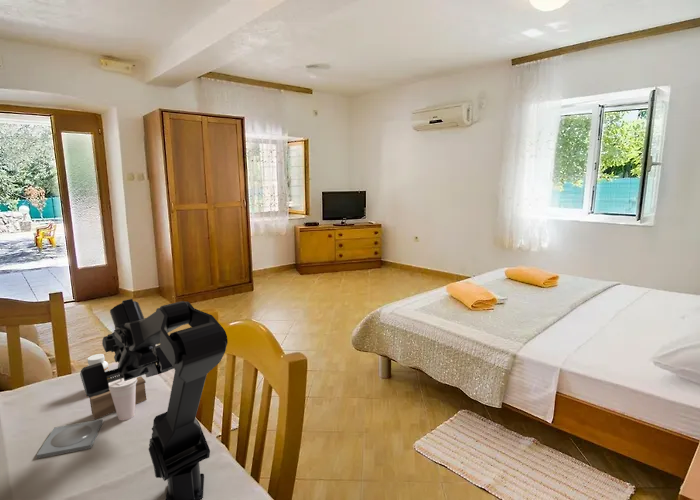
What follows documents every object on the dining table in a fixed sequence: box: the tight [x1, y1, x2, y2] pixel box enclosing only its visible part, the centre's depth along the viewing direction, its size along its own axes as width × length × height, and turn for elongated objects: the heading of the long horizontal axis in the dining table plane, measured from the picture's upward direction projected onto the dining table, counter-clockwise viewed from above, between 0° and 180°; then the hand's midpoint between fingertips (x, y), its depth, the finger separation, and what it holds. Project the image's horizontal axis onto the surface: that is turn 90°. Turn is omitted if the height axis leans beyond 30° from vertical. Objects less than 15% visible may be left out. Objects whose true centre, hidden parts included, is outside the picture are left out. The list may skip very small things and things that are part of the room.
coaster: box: [36, 418, 104, 459], centre depth 91 cm, size 10×10×1 cm
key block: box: [88, 375, 147, 420], centre depth 103 cm, size 3×12×6 cm, turn 135°
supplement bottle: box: [87, 353, 110, 379], centre depth 112 cm, size 5×5×10 cm
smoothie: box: [108, 377, 138, 421], centre depth 98 cm, size 6×6×14 cm
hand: (126, 382), depth 95 cm, fingers open, 9 cm apart
